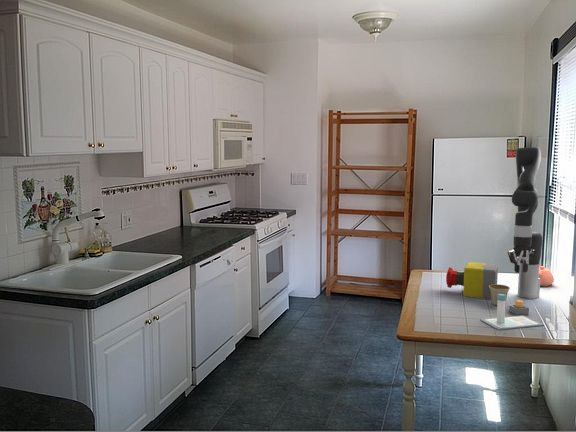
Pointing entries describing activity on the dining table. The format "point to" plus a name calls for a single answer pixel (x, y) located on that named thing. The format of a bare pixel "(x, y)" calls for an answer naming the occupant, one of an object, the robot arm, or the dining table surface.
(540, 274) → the piggy bank
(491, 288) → the flower pot
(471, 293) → the emergency stop button
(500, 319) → the marker
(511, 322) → the placemat
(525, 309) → the button housing
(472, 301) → the dining table surface
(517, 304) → the button
